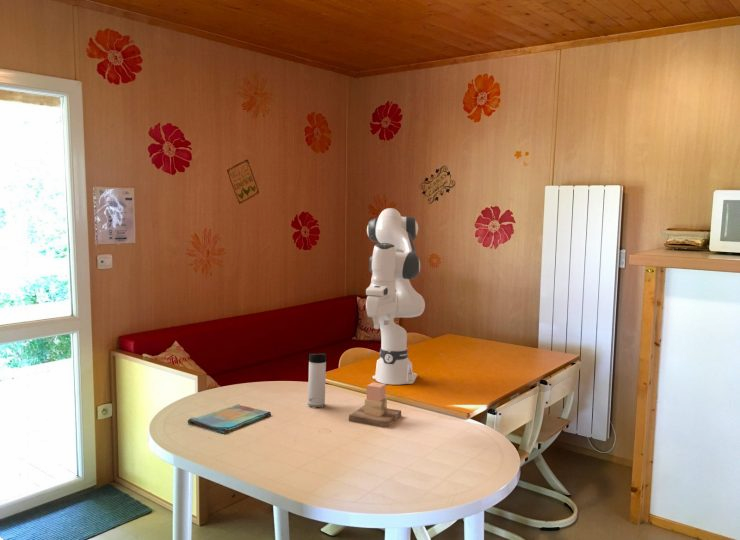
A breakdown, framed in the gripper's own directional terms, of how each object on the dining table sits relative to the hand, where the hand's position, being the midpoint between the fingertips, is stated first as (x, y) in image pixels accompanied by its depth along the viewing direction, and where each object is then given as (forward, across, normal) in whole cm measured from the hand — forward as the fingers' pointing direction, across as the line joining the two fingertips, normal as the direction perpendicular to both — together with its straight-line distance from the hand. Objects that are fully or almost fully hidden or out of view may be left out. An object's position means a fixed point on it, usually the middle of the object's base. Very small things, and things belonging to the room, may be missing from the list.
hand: (381, 326), depth 214 cm
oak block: (+29, +8, +2) cm, 30 cm away
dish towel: (+32, +33, -41) cm, 62 cm away
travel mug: (+31, +5, -23) cm, 39 cm away
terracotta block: (+24, +8, +2) cm, 25 cm away
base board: (+31, +8, +2) cm, 32 cm away
